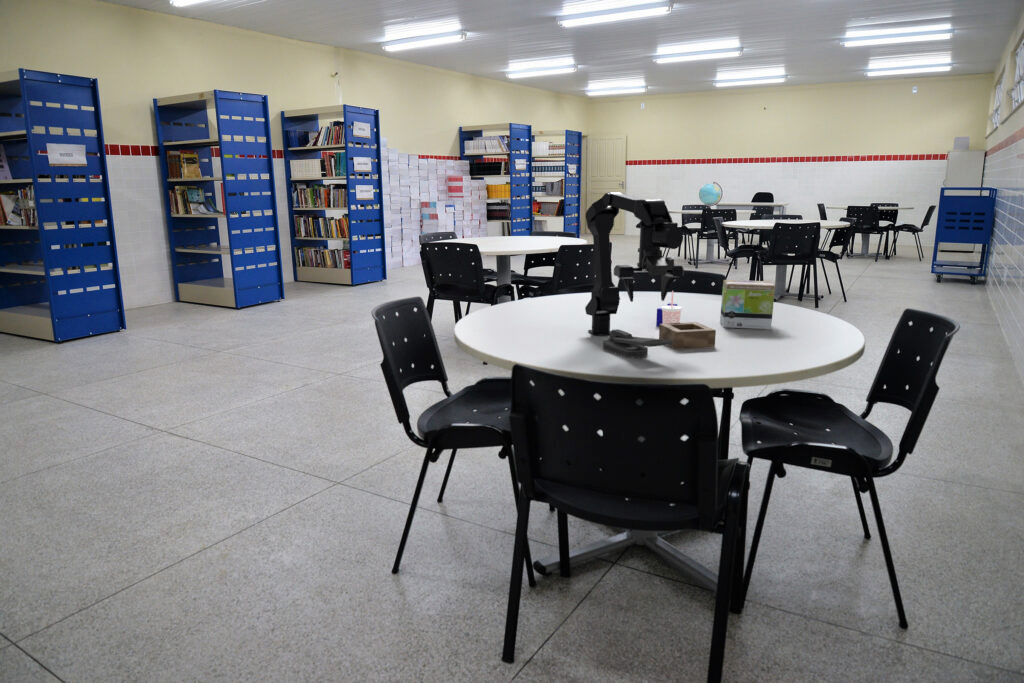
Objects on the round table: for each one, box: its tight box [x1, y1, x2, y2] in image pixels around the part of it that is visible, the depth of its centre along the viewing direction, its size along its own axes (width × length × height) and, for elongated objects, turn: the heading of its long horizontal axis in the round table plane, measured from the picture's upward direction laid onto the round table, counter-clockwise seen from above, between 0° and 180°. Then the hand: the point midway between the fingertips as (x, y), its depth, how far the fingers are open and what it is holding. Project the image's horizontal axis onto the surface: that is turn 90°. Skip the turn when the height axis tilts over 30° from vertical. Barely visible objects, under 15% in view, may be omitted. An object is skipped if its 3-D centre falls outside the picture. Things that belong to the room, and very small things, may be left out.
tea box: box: [719, 279, 776, 331], centre depth 222 cm, size 15×10×15 cm
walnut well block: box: [658, 321, 717, 350], centre depth 199 cm, size 12×12×5 cm
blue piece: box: [655, 302, 678, 327], centre depth 229 cm, size 12×4×6 cm, turn 149°
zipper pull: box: [602, 328, 673, 359], centre depth 186 cm, size 9×7×25 cm
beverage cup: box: [661, 290, 683, 324], centre depth 209 cm, size 6×6×14 cm
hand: (647, 301), depth 191 cm, fingers open, 9 cm apart
